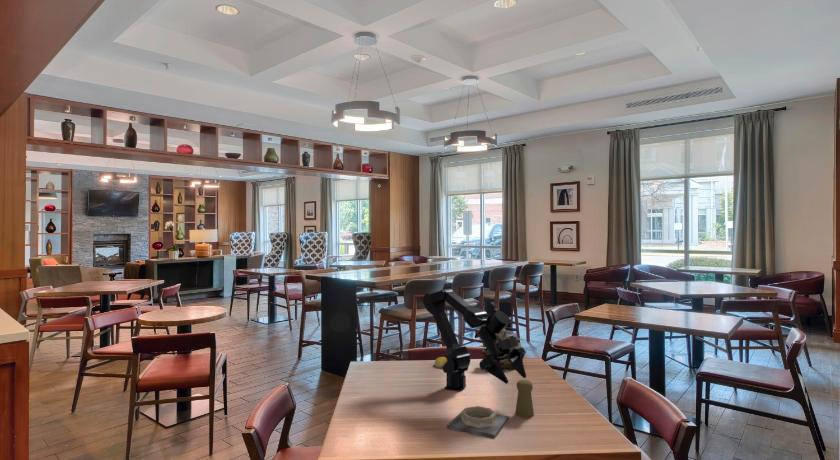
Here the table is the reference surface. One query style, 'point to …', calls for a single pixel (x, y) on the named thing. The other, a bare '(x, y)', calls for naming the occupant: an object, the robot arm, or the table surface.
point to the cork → (524, 399)
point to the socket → (479, 421)
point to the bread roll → (440, 362)
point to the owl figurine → (506, 364)
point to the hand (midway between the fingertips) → (516, 380)
